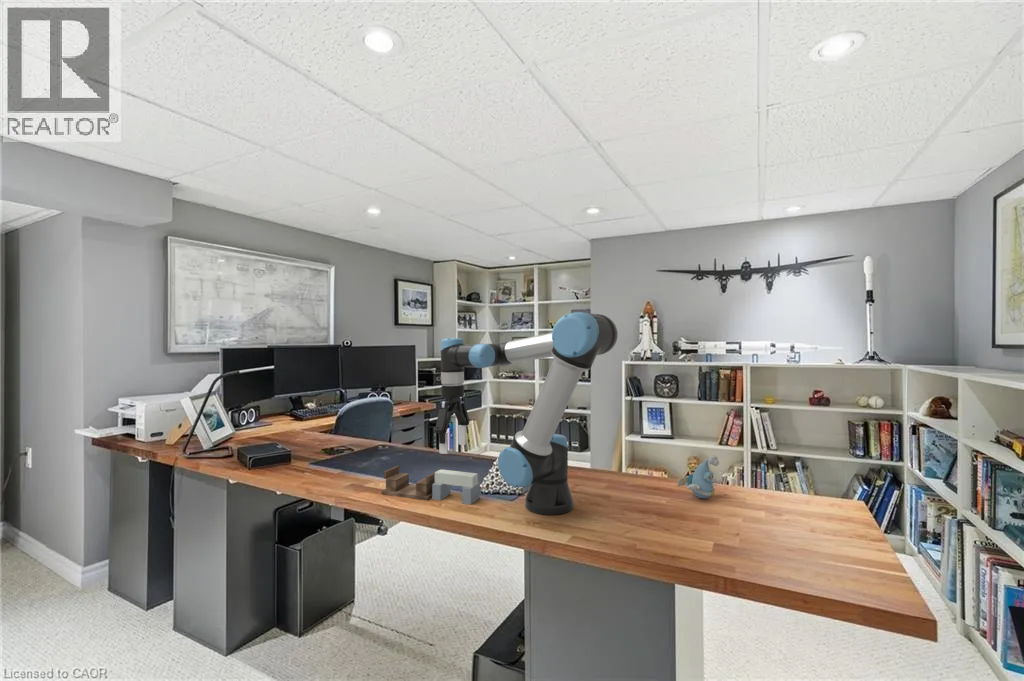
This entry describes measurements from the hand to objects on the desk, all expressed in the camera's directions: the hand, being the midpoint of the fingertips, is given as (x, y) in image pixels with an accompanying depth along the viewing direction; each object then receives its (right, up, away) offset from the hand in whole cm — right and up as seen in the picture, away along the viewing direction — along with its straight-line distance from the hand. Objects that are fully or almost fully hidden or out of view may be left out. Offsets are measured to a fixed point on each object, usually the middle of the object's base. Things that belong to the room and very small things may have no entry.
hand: (453, 448), depth 155 cm
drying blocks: (+1, -17, +1) cm, 17 cm away
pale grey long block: (+1, -12, +1) cm, 12 cm away
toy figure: (+83, -17, +1) cm, 85 cm away
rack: (-15, -17, +7) cm, 23 cm away
